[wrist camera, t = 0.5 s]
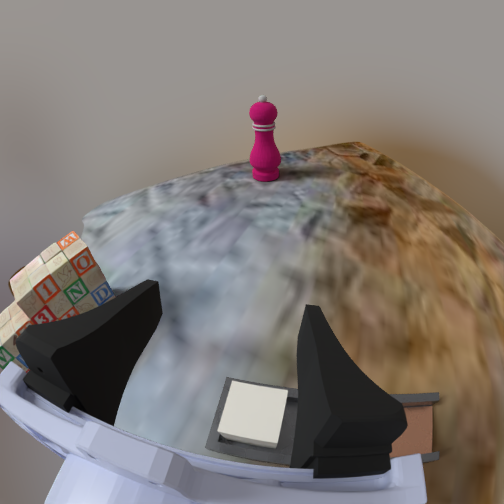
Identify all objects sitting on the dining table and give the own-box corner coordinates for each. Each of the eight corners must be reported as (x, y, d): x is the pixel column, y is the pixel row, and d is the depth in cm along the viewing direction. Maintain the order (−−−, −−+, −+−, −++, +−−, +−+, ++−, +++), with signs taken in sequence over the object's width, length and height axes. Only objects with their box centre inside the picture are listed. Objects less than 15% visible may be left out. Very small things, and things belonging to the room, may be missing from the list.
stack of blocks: (30, 390, 25) (-27, 345, 16) (19, 363, 28) (-29, 316, 19) (123, 307, 37) (87, 244, 28) (105, 287, 40) (72, 228, 31)
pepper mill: (255, 185, 61) (249, 98, 47) (247, 172, 66) (242, 94, 52) (285, 180, 62) (284, 96, 48) (275, 168, 67) (273, 92, 53)
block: (275, 449, 21) (277, 443, 18) (226, 439, 22) (217, 431, 19) (285, 405, 25) (288, 390, 21) (238, 397, 26) (232, 380, 22)
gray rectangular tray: (427, 462, 17) (438, 459, 16) (209, 450, 22) (204, 447, 20) (429, 399, 23) (438, 392, 21) (229, 384, 28) (226, 377, 26)
